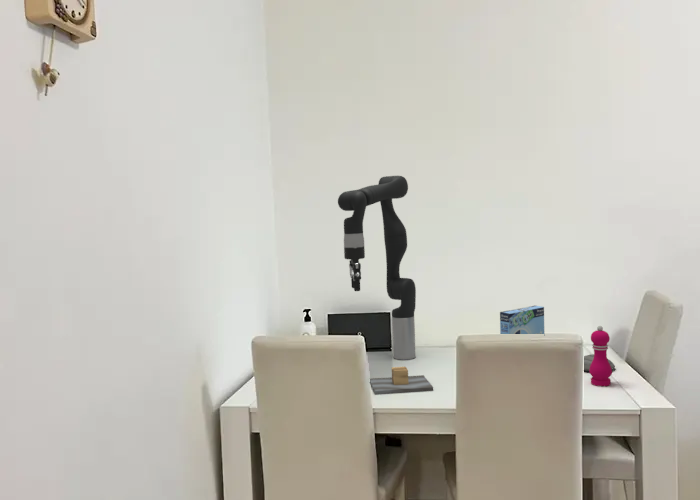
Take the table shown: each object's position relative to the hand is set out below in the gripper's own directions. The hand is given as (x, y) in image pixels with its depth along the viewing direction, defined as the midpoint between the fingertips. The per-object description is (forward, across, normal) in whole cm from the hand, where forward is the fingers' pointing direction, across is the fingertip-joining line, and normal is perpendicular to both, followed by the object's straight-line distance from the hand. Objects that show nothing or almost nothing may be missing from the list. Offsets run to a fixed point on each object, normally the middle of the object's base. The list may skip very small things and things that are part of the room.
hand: (355, 289), depth 243 cm
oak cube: (+32, +16, +13) cm, 38 cm away
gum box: (+33, +4, +62) cm, 70 cm away
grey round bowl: (+34, +10, +87) cm, 93 cm away
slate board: (+33, +16, +13) cm, 39 cm away
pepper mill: (+33, +30, +80) cm, 91 cm away
